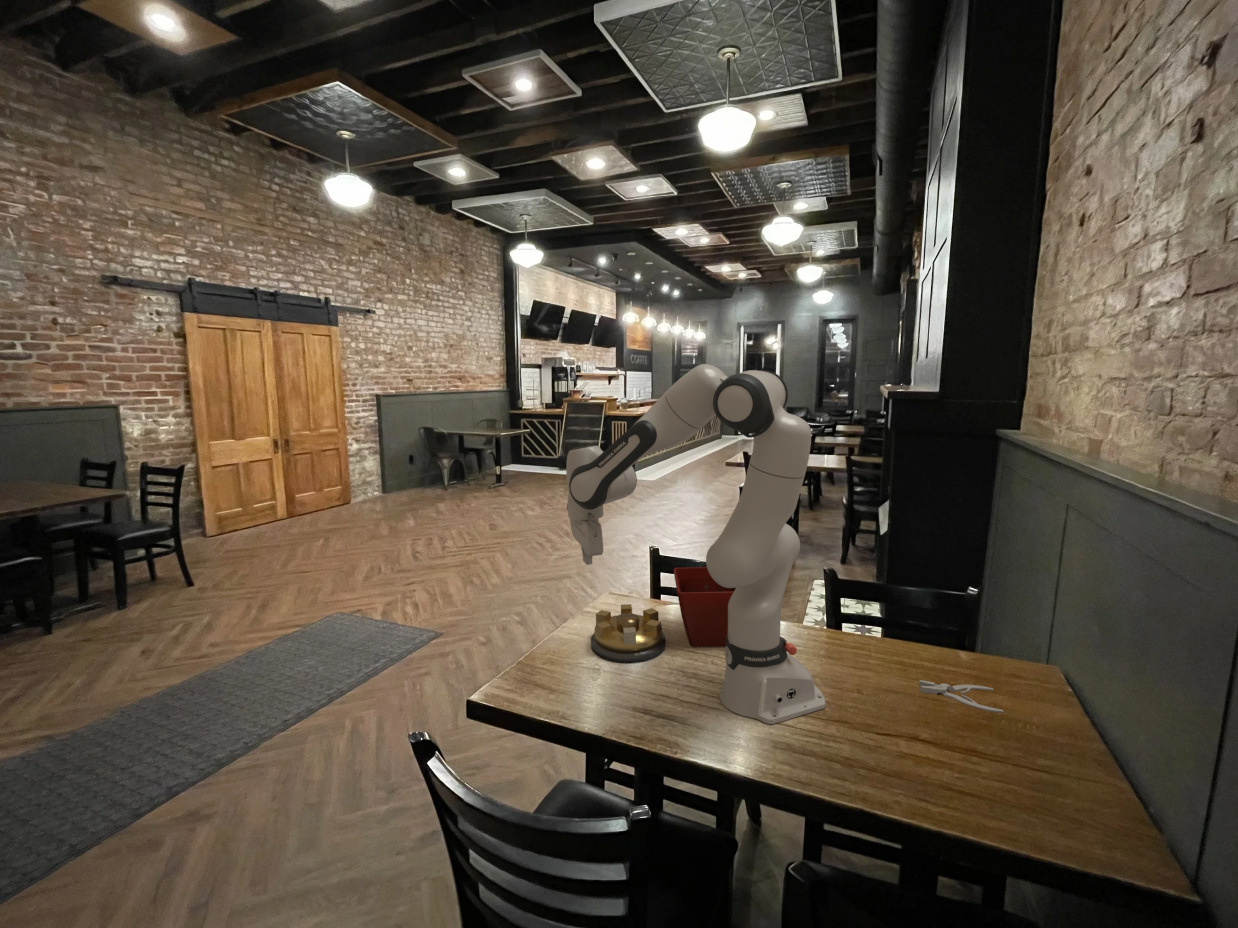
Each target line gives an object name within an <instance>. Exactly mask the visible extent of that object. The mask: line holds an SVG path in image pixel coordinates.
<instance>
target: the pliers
mask: <svg viewBox="0 0 1238 928" xmlns="http://www.w3.org/2000/svg"><path fill="white" fill-rule="evenodd" d="M918 683H919V685H918V686H919V687H920V693H924V694H930V695H938V694H940V695H942V696H944V697H948V698H951V699H953V700H955V701H957V702H959V703H961V704H963V705H966V706H968V707H970V708H971V707H972V708H975V709H977V710H983V711H987V712H992V713H1001V714H1004V710H1003V709H999V708H995V707H990V706H987V705H982V704H979V703H977V702H976V701H975V700H973V699H971V697H968V696H966V695H964V694H967V693H970V691H971V690H980V691H989V692H990V691H991V692H994V688H993V687H989V686H984V685H976V684H957V685H956V684H955V685H952V686H951V685H950V684H948V683H940V684H936V682H935V681H934V682H933V681H928V680H923V679H919V682H918ZM950 692H955V693H956V692H959V694H960V696H959V695H957V694H955V693H950Z"/></svg>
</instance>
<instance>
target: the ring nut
mask: <svg viewBox="0 0 1238 928" xmlns="http://www.w3.org/2000/svg"><path fill="white" fill-rule="evenodd" d="M611 613H612V612H611V611H609V610H604V609H601V610H599V611H598V612H596V613H595V627H594V632H595V642H596V643H597V645H599V646H600V647H601V648H603V649H605V650H608V651H611V652H616V653H638V652H643V651H647V650H650V649H652V648H654V647H656V646H657V645H658V644H659V643H660V642H661V640H662V632H663V627H662V621H660V620H659V619H660V618H659V610H656V609H655V608H653V607H650V608H648V609H647V608H646V609H644V610H643V611H642V615H640V614H636V613H633V606H632V604H631V603H630V604H626V603H625V604H620V614H618V615H614V616H613V615H612V614H611ZM594 632H593V633H594Z"/></svg>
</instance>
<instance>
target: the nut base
mask: <svg viewBox="0 0 1238 928" xmlns="http://www.w3.org/2000/svg"><path fill="white" fill-rule="evenodd" d="M666 638H667V637H666V635H665V632H664V631H662V640H661V642H660V643H659V644H658V645H657V646H656V647H654V648H652V649H650V650H647V651H643V652H638V653H616V652H611V651H608V650H605V649H603V648H601V647H600V646H599V645H597V643H596V642H595V632H593V634H592V635H591V638H590V649H591V650H592V653H593V654H594V655H595V656H597V657H598V658H600V659H602V660H605V661H607V662H611V663H616V664H617V663H618V664H637V663H638V664H639V663H644V662H648V661H651V660H654V659H656V658H657V657H659V656H660V655H662V654H663V653H664V652H665V650H666V648H667V647H666V646H667V644H666V643H667V642H666V640H667V639H666ZM665 647H666V648H665Z"/></svg>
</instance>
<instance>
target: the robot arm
mask: <svg viewBox="0 0 1238 928" xmlns="http://www.w3.org/2000/svg"><path fill="white" fill-rule="evenodd" d="M788 399H789V389H788V386H787V384H786V382H785V381H784V379H783V378H782V377H781V376H780V375H779V374H777V373H776V372H774V371H770V370H766V369H758V370H757V369H756V370H755V369H752V370H750V369H749V370H744V371H742V372H738V373H735V374H732V375H730V376H727V375H726V374H725V373H724V372H723V371H722V370H721V369H720V368H718V367H716V366H715V365H711V364H710V363H701V364H699V365H696V366H695V367H693V368H692V369H690V370H689V371H688V372H686V373H685V374H684V375H682V376H681V377H680V378H678V380H677V381H675V382H674V383H673V384H672V385H671V386H670V387H669V388H668V389H667V390H666V391H665V392H664V393H663V394H662V395H661V396H660V397H659V398H658V399H657V401H656V402H654V403H653V405H651V407H650V408H649V409H648V410H647V411H646V412H645V413H644V414H643V415H642V416H641V417H639V419H638V420H636V422H634V424H633V425H631V427H629V429H627V430H626V431H625V432H624V433H623V434H621V436H619V437H618V438H617V439H616V440H615V441H614V442H613V443H611V445H609V446H608V447H607V448H606V449H605V450H604V451H603V450H602V449H601V447H600V446H599V445H597V444H588V445H583V446H582V445H581V446H577V447H573V448H572V449H570V450H569V451H568V453H567V457H566V468H565V472H566V474H565V475H566V484H567V488H568V493H567V503H566V510H567V517H568V518H569V521H570V522H569V523H570V527H571V529H570V531H571V533H572V536H573V538H574V539H575V540H576V542H577V543H578V544H579V545H580V549H581V550H580V551H581V553H582V561H583V563H584V564H585V565H586V566H589V565H592V564H593V557H594V556H595V557H596V556H602V555H603V553H604V540H603V531H602V530H603V529H602V525H601V523H600V522H599V521H600V520H599V519H600V518H603V517H604V505H607V504H609V503H612V502H615V501H618V500H621V499H624V498H627V497H628V496H630V495H632V494H633V493H634V491H635V489H636V487H637V482H638V481H637V479H638V478H637V474H636V470H635V469H634V467H633V465H635V464H636V463H637V462H638V461H640V460H641V459H643V458H645V457H647V456H650V455H652V454H654V453H657V452H661V451H664V450H668V449H670V448H675V447H677V446H679V445H681V444H683V443H684V442H686V441H688V440H689V439H691V438H692V437H693V436H695V435H696V434H698V432H700V430H701V429H702V428H704V427H705V426H707V424H708V423H709V422H710V421H711V420H712V419H713V418H715V417H717V418H718V420H720V422H721V423H723V425H725V426H727V427H729V428H730V429H733V430H735V431H736V432H738V433H739V434H741V435H742V436H744V437H746V438H749V439H750V438H751V439H752V438H753V445H752V446H753V447H752V451H751V455H750V458H749V463H748V468H747V471H746V476H745V478H744V482H743V485H742V489H741V493H740V496H739V498H738V502H737V504H736V506H735V508H734V510H733V511H732V514H731V516H730V517H729V520H728V521H727V523H726V524H725V527H724V529H723V530H722V531H721V534H720V535H719V537H718V538H717V539H716V540H715V542H713V543H712V545H711V546H710V547H709V548H708V551H706V552H707V553H706V555H705V563H706V567H707V569H708V572H709V574H710V576H711V577H712V578H713V580H714V581H715V582H716V583H718V584H719V585H721V586H723V587H726V588H736V589H735V591H734V593H733V594H732V596H731V598H730V600H729V603H728V634H727V636H726V647H724V657H725V663H726V665H725V674H724V679H723V683H722V686H721V690H720V693H719V700H720V702H721V703H722V704H723V706H724V707H725V708H727V709H728V710H729V711H731V712H733V713H735V714H737V715H740V716H744V717H748V718H753V719H756V720H758V721H760V722H763V723H765V724H769V725H775V724H778V723H781V722H784V721H789V720H790V719H793V718H797V717H800V716H804V715H806V714H811V713H814V712H818V711H820V710H822V709H825V708H826V698H825V696H824V694H823V693H822V691H821V690H820V689H819V688H818V687H817V686H816V685H815V683H814V679H813V677H812V674H811V672H810V671H809V669H808V668H807V667H806V666H805V665H804V664H803V663H802V662H801V661H799V660H798V659H796V658H795V657H794V656H795V655H796V653H798V652H797V651H798V648H797V647H796V645H794V644H793V642H792V643H791V642H788V641H787V640H786V639H785V638H784V637H782V636H781V619H782V615H781V613H782V605H783V600H784V595H785V592H786V589H787V588H786V587H787V584H788V580H789V577H790V573H791V571H792V566H793V564H794V562H795V560H796V559H797V557H798V555H799V554H800V550H801V541H800V537H799V535H798V533H797V532H796V530H795V529H794V528H793V527H792V526H791V525H789V524H788V523H787V522H788V521H789V519H790V518H791V517H792V515H794V513H795V511H796V508H797V505H798V501H799V498H800V494H801V492H802V491H801V490H802V486H803V483H804V479H805V476H806V474H807V473H806V472H807V468H808V464H809V459H810V454H811V453H810V452H811V446H812V445H811V444H812V430H811V426H810V425H809V423H808V422H807V421H806V420H805V419H803V418H801V417H800V416H798V415H795V414H793V413H789V412H787V411H786V409H785V408H786V405H787V403H788Z"/></svg>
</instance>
